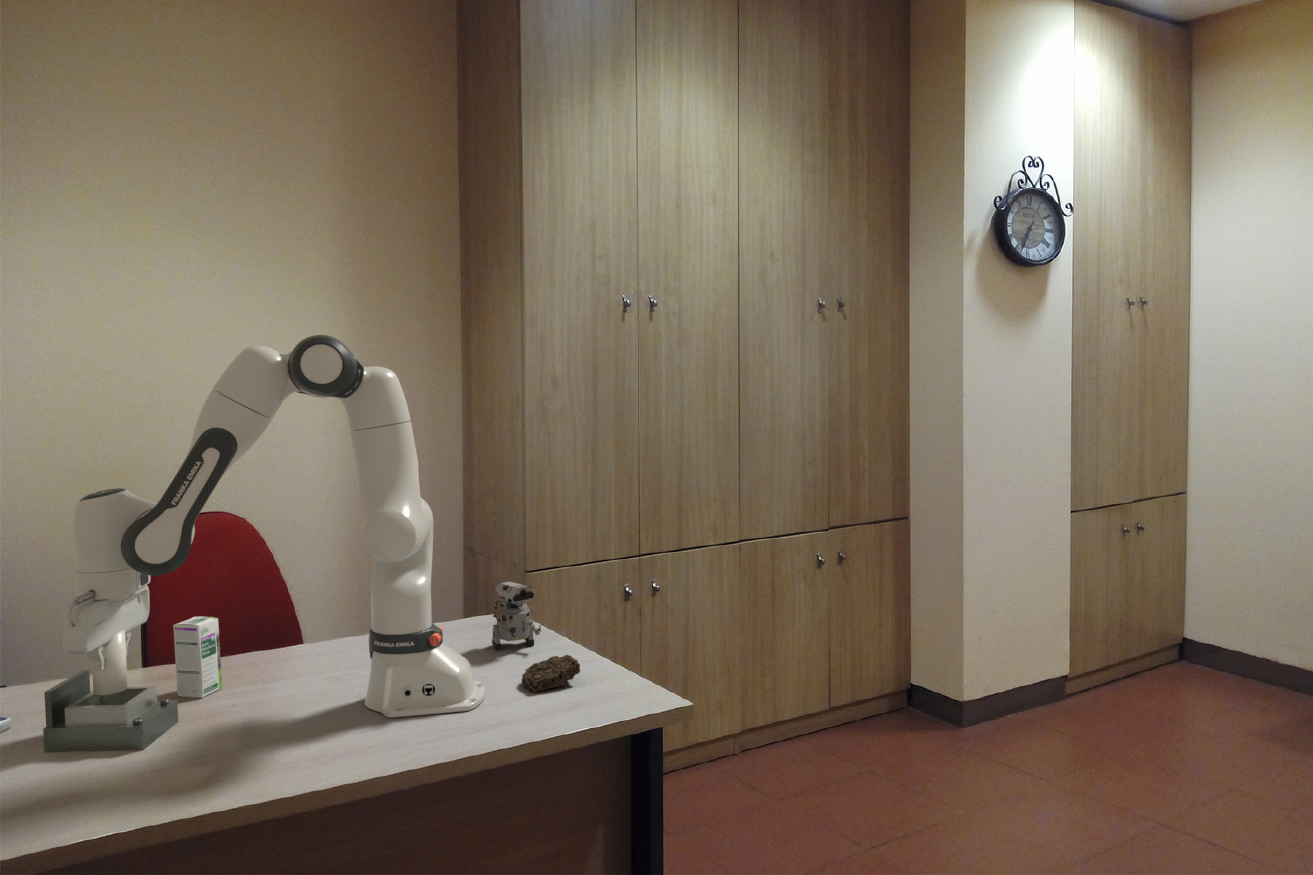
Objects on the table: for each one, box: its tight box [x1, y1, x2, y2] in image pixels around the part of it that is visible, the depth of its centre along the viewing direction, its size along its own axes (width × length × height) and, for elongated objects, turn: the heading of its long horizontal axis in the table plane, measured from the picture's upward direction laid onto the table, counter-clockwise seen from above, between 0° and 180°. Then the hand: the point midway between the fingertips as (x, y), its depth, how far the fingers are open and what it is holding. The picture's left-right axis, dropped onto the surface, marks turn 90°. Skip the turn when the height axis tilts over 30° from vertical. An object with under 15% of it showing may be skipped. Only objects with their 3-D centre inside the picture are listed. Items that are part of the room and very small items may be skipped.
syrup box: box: [172, 615, 223, 699], centre depth 176 cm, size 6×6×14 cm
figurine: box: [491, 581, 542, 651], centre depth 204 cm, size 9×12×15 cm
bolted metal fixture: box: [42, 669, 179, 753], centre depth 155 cm, size 16×12×10 cm
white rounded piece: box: [91, 630, 128, 695], centre depth 154 cm, size 7×5×10 cm
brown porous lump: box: [521, 654, 581, 693], centre depth 181 cm, size 12×10×5 cm
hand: (109, 663), depth 154 cm, fingers closed on white rounded piece, 5 cm apart
